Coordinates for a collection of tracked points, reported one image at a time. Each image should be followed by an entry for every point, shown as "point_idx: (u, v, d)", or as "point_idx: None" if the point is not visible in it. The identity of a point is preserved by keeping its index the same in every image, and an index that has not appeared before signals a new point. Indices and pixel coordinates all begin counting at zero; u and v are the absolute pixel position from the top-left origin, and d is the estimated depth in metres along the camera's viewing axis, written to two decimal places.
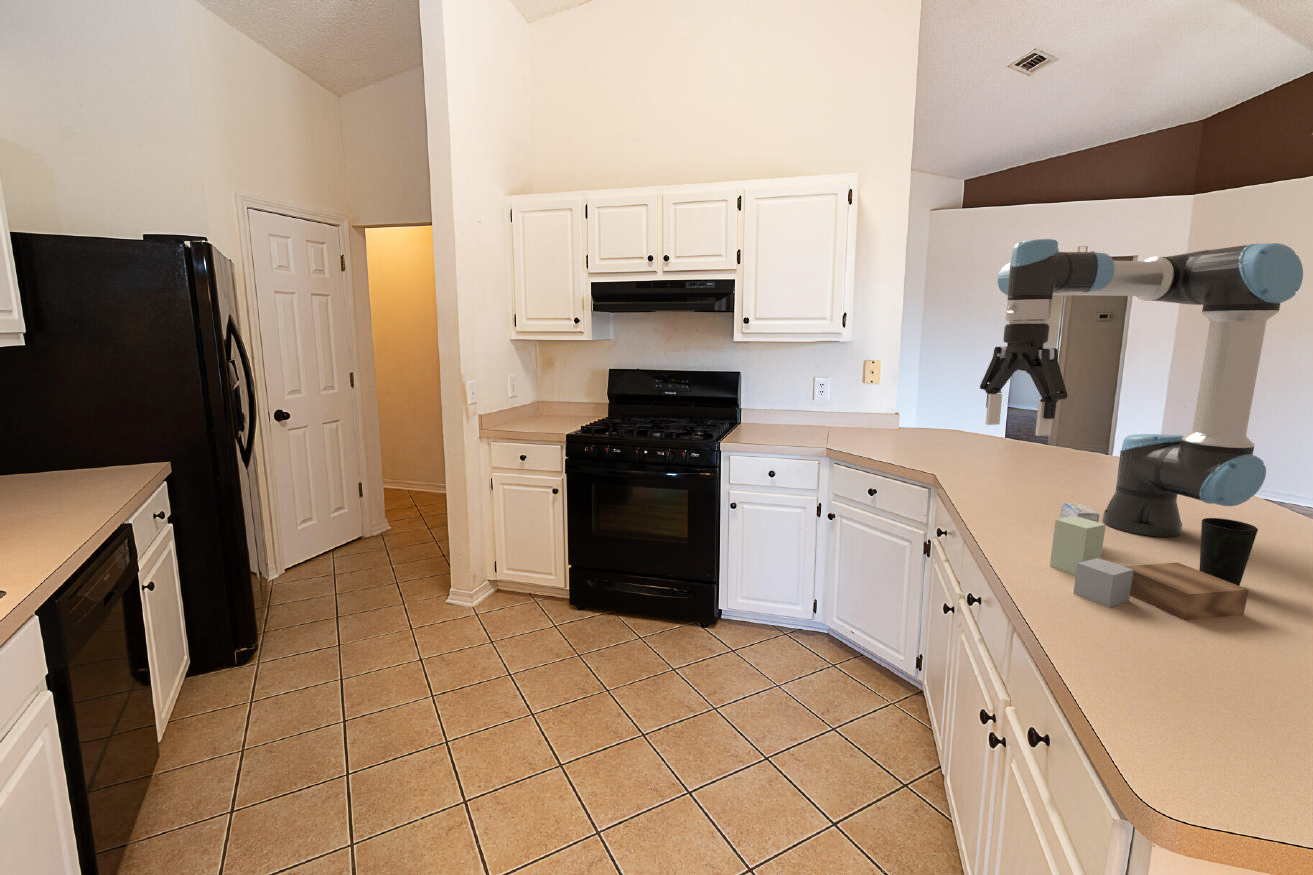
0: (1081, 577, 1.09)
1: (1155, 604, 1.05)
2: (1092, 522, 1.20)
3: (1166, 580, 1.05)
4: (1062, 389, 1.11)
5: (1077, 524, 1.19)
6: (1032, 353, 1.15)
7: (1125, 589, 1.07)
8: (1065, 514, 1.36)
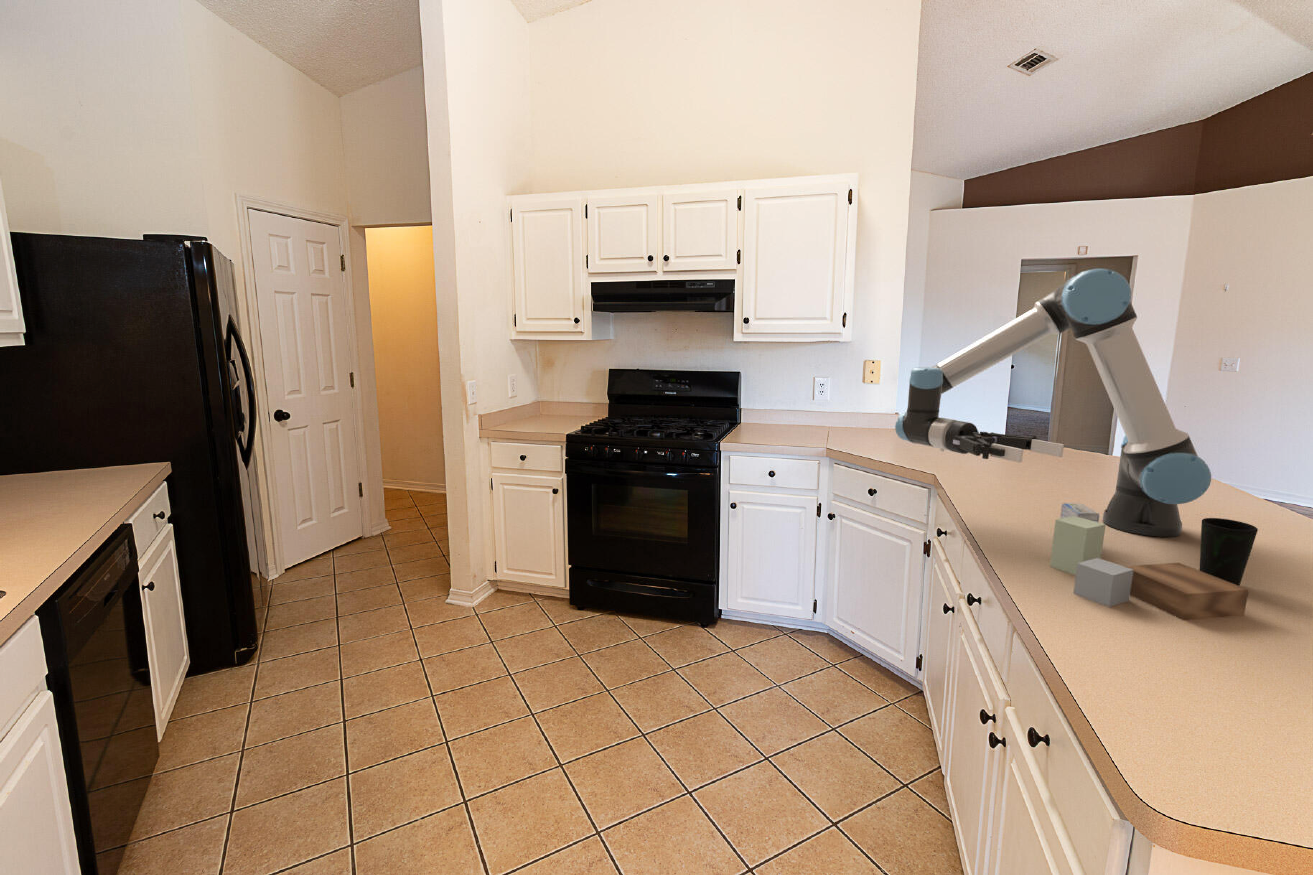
0: (1081, 577, 1.09)
1: (1154, 604, 1.05)
2: (1092, 522, 1.20)
3: (1165, 580, 1.05)
4: (973, 446, 1.30)
5: (1077, 524, 1.19)
6: None
7: (1125, 589, 1.07)
8: (1065, 514, 1.36)
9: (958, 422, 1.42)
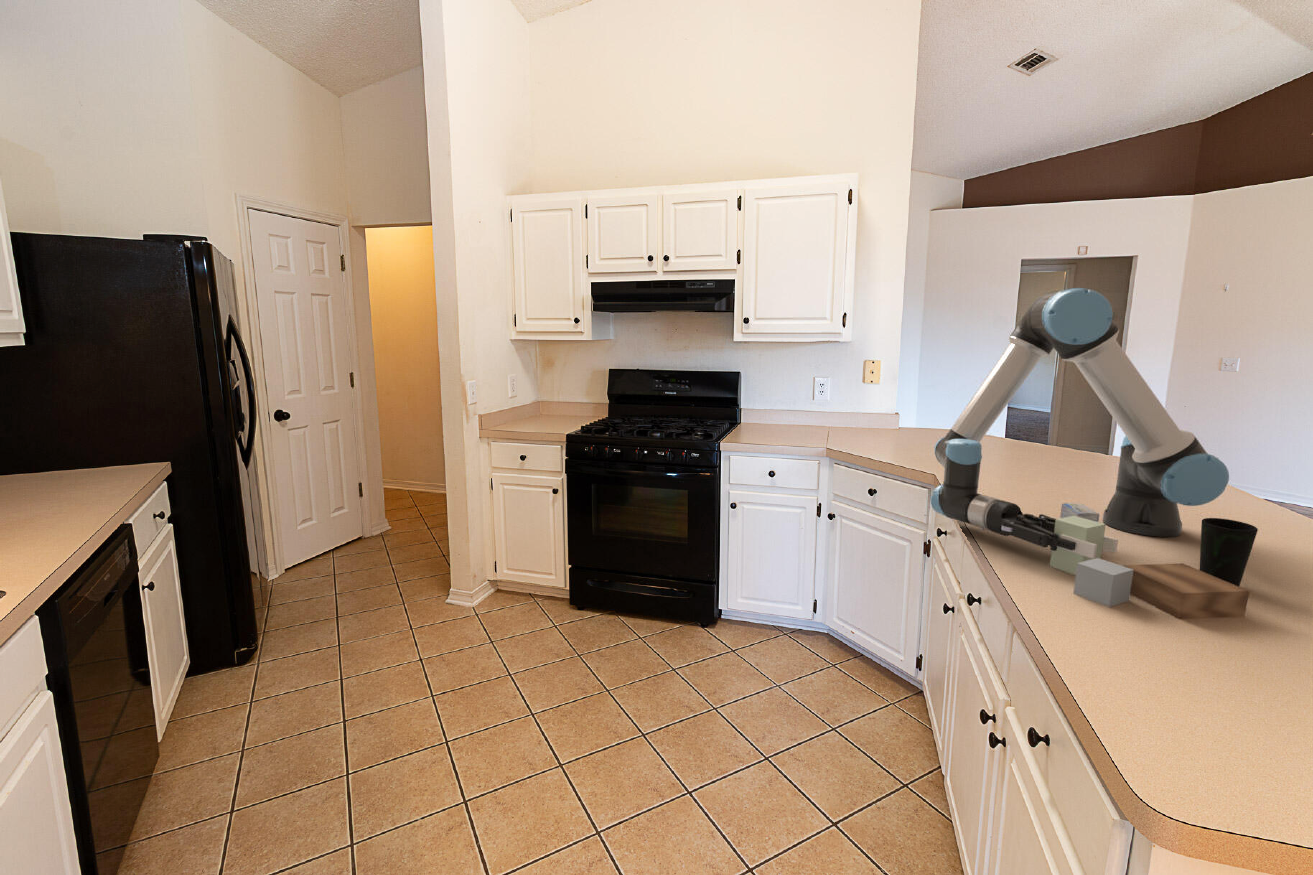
0: (1081, 577, 1.09)
1: (1152, 603, 1.06)
2: (1092, 522, 1.20)
3: (1164, 579, 1.05)
4: (1038, 536, 1.21)
5: (1077, 524, 1.19)
6: None
7: (1125, 589, 1.07)
8: (1065, 514, 1.36)
9: (1000, 502, 1.34)
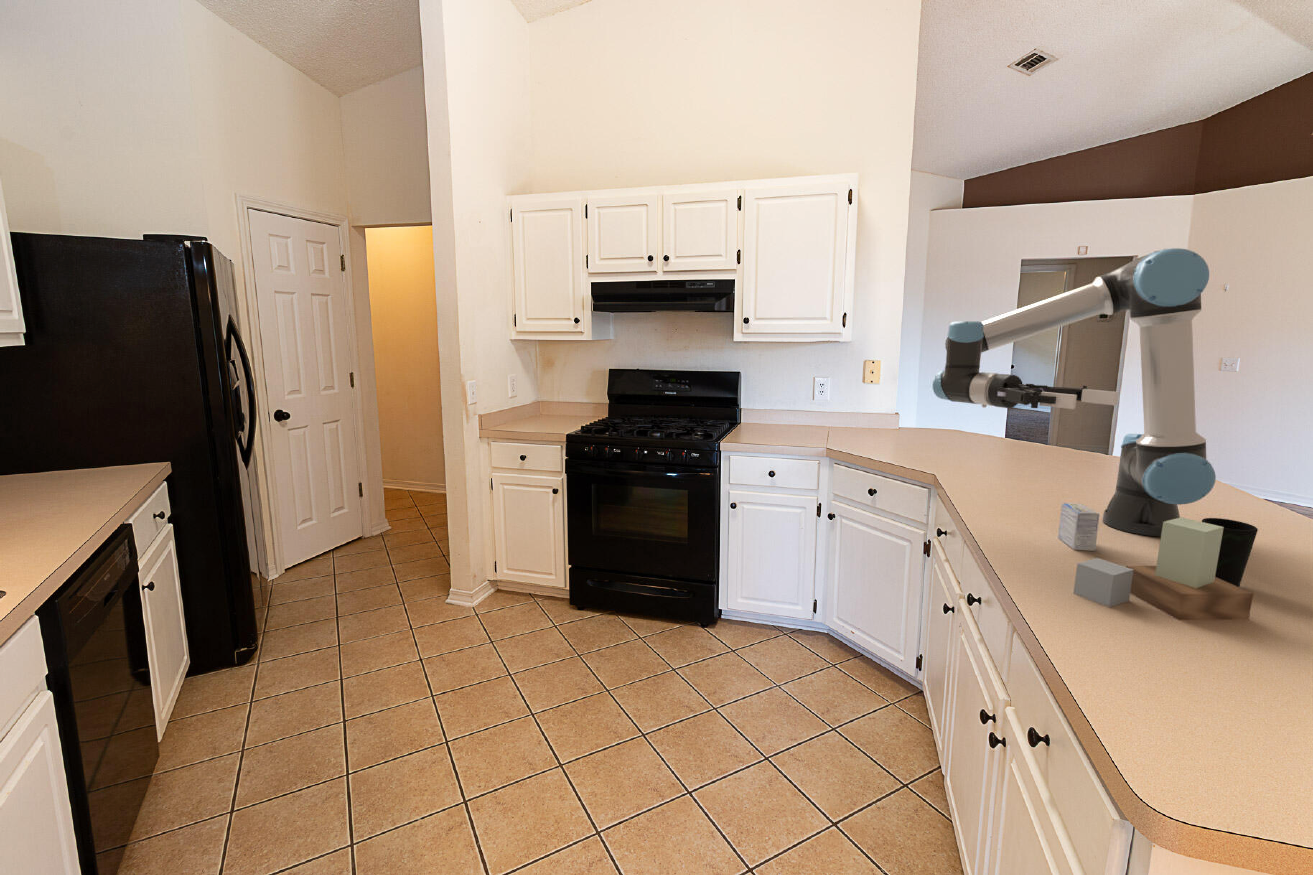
0: (1081, 577, 1.09)
1: (1153, 604, 1.06)
2: (1207, 524, 1.04)
3: (1165, 580, 1.05)
4: (1020, 395, 1.23)
5: (1191, 527, 1.03)
6: None
7: (1125, 589, 1.07)
8: (1065, 514, 1.36)
9: (1002, 375, 1.35)
